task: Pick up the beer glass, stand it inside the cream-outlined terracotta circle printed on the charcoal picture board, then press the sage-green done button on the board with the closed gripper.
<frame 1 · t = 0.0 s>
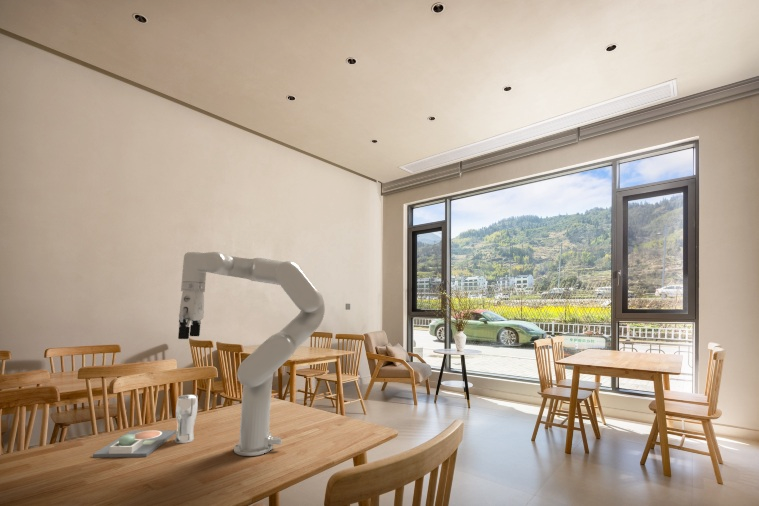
hand: (189, 337, 134), 37 cm above the table, tool pointing down, fingers open, 9 cm apart
beer glass: (184, 441, 139), on the table
done button: (127, 439, 127), point 4 cm above the table, slide at 0.0 cm
picture board: (137, 444, 134), on the table
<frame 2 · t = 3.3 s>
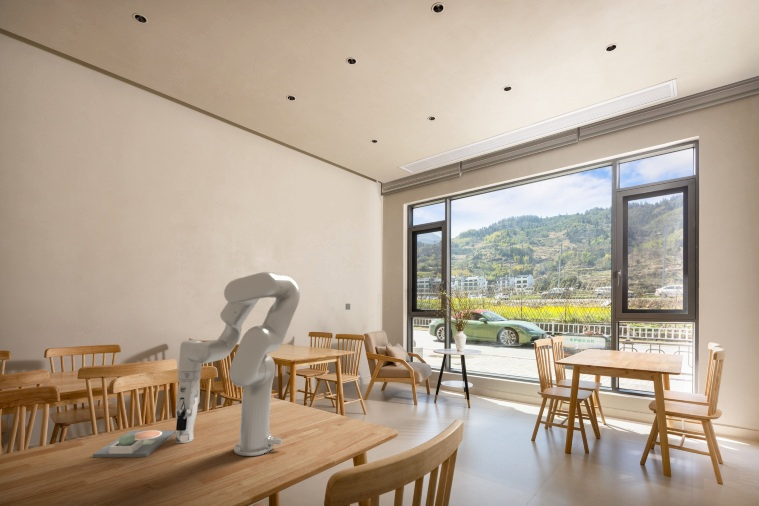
hand: (185, 426, 139), 5 cm above the table, tool pointing down, fingers closed on beer glass, 6 cm apart
beer glass: (184, 440, 139), on the table, touching gripper
everything else where it was.
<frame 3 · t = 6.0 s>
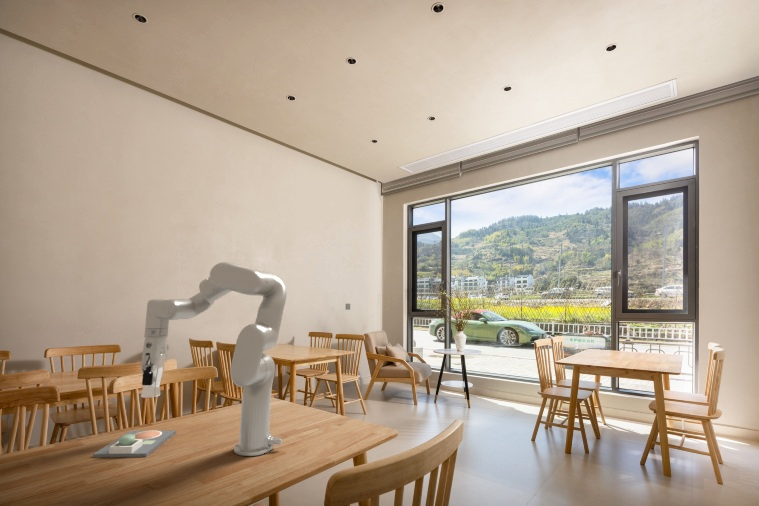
hand: (151, 382, 142), 19 cm above the table, tool pointing down, fingers closed on beer glass, 6 cm apart
beer glass: (150, 396, 142), point 14 cm above the table, touching gripper
everything else where it was.
when the fingers open (6 cm above the table, at t = 8.8 s): beer glass stays where it is, resting on picture board.
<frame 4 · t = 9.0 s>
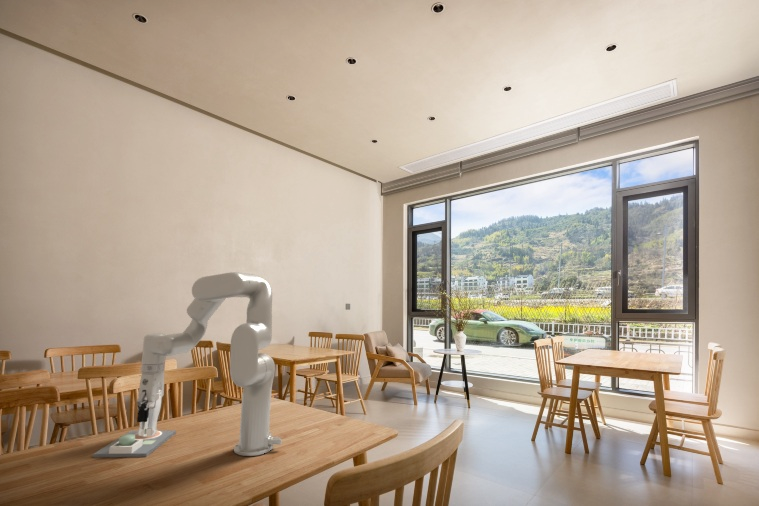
hand: (148, 417, 141), 7 cm above the table, tool pointing down, fingers open, 8 cm apart
beer glass: (147, 435, 140), point 1 cm above the table, touching picture board
everything else where it was.
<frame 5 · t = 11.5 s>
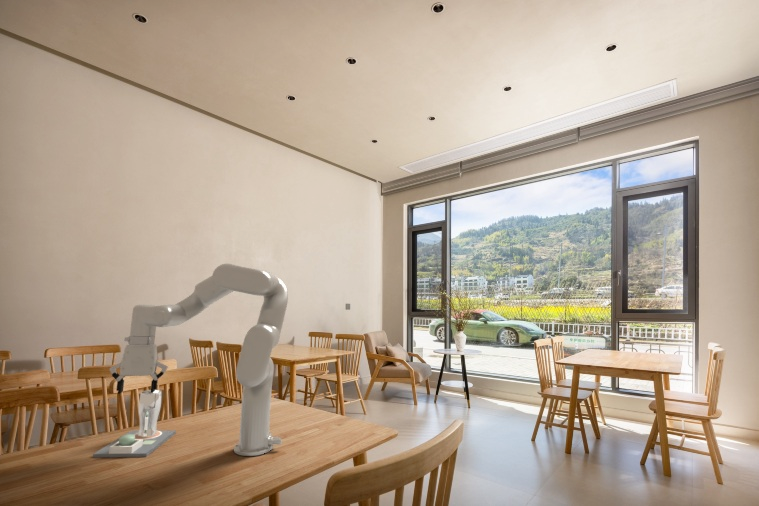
hand: (136, 392, 133), 18 cm above the table, tool pointing down, fingers open, 9 cm apart
nothing on the table moved.
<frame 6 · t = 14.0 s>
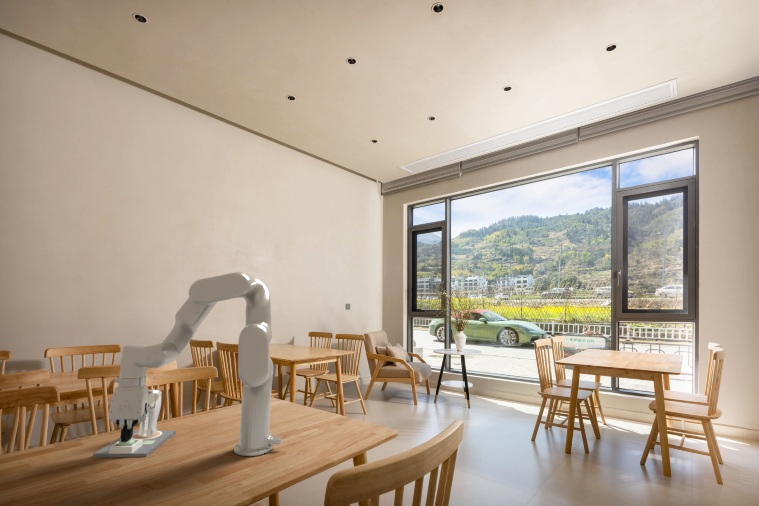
hand: (126, 440, 127), 4 cm above the table, tool pointing down, fingers closed
done button: (126, 443, 127), point 3 cm above the table, slide at 1.2 cm, touching gripper
everything else where it was.
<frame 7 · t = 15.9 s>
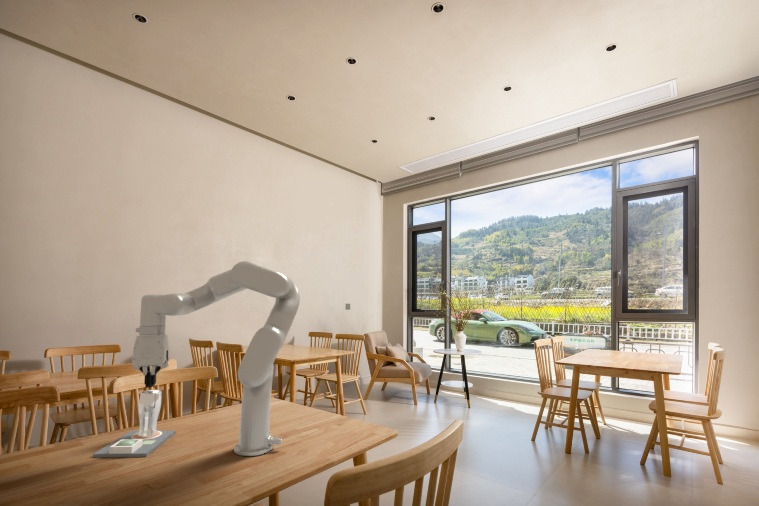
hand: (150, 386, 131), 20 cm above the table, tool pointing down, fingers closed
done button: (126, 444, 127), point 2 cm above the table, slide at 1.6 cm
everything else where it was.
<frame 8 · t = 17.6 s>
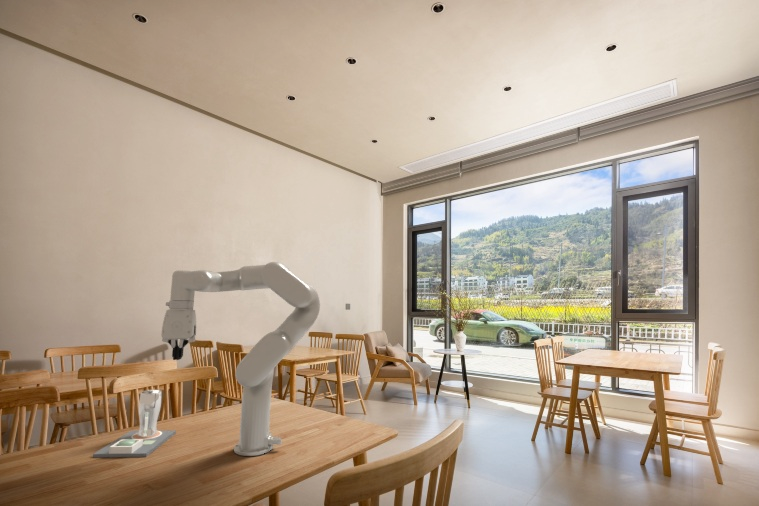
hand: (177, 359, 135), 29 cm above the table, tool pointing down, fingers closed
nothing on the table moved.
at the end: beer glass 0.2 cm from the target spot, point 0.9 cm above the table; beer glass tilted 0°; done button slide at 1.6 cm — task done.
